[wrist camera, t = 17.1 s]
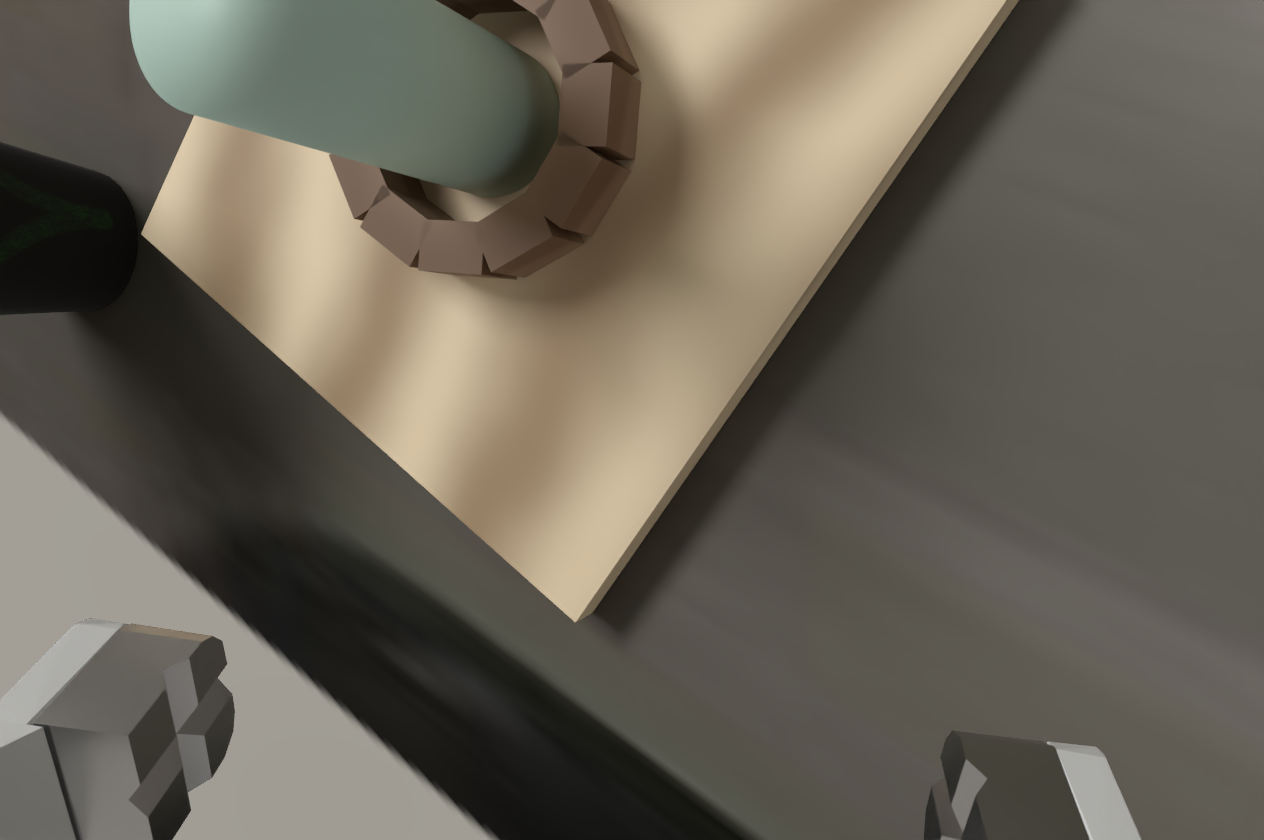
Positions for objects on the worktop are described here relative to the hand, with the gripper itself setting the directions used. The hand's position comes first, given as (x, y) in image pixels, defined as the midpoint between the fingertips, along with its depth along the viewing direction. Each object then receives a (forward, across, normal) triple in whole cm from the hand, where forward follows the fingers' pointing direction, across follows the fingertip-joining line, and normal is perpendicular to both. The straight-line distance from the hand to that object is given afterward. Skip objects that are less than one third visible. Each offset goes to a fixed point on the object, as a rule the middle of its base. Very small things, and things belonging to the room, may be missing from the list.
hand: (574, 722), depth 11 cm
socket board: (+23, -6, +2) cm, 24 cm away
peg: (+22, -6, +2) cm, 23 cm away
